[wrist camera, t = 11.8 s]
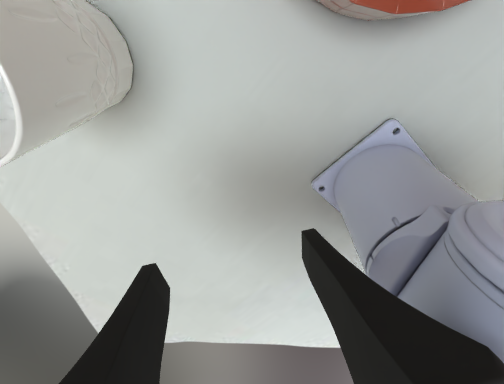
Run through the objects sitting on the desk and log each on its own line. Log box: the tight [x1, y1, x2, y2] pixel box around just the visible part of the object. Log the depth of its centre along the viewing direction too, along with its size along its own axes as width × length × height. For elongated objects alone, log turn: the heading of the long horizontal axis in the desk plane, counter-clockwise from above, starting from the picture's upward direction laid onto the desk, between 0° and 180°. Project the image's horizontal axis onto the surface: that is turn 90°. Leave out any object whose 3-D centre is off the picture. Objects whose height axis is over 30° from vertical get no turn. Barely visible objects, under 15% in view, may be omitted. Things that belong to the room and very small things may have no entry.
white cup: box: [0, 0, 133, 167], centre depth 13 cm, size 8×8×10 cm
